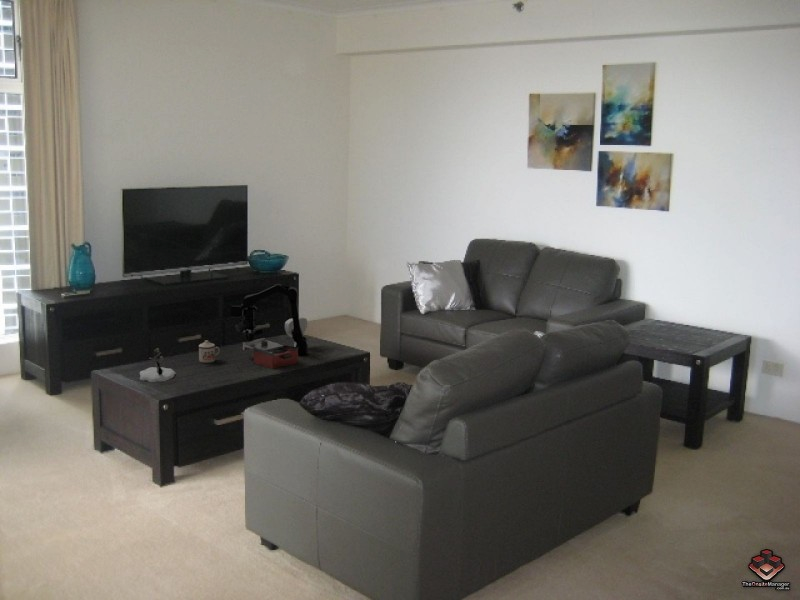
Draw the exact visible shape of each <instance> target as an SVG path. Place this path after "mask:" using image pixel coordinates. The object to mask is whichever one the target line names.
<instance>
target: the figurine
mask: <svg viewBox="0 0 800 600" xmlns="http://www.w3.org/2000/svg"><path fill="white" fill-rule="evenodd" d="M153 352H154V355H153V357H149V358H148V359H149V360H152V361H155V367H154V366H153V367H152V366H151V367H148V368H145V369H144V370H141V371H140V372H139V376H140V377H139V381H147V382H150V383H157V382H166V381H169V380H170V379H173V378H174V377H175V375H176V371H174V369H172V368H166V367H161V365H160V363H159V361H164V356H162V355H161V354H162V352H160V349H159V347H157V348H155V349H154V351H153ZM160 355H161V356H160ZM158 360H159V361H158Z"/></svg>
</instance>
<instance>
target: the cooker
mask: <svg viewBox="0 0 800 600" xmlns="http://www.w3.org/2000/svg"><path fill="white" fill-rule="evenodd" d="M277 343H278V344H281V345H285V347H283V348H278V349H274V350H270V351H265V350H261V349H258V348H254V349H253V363H254V364H256V365H259V366H263V367H266V368H269V369H272V370H273V369H278V368H280V367H285V366H289V365H292V364H296V363H299V355H298V348H297V347H294V345H290V344H286V343H283V342H277Z"/></svg>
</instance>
